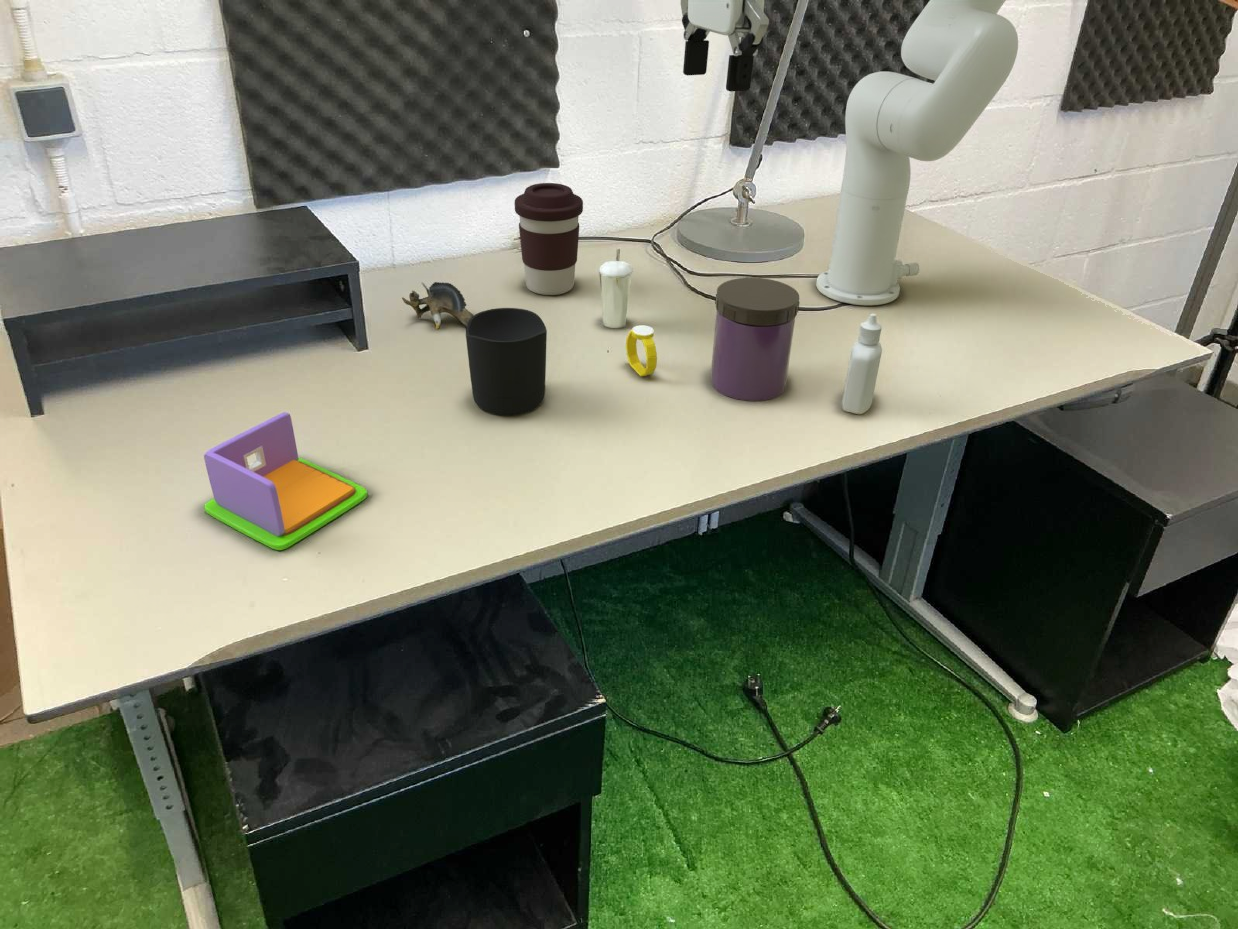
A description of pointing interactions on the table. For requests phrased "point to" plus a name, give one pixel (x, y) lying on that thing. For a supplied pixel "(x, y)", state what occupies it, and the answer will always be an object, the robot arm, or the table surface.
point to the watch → (646, 336)
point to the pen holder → (507, 360)
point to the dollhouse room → (274, 486)
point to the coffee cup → (549, 236)
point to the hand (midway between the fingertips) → (715, 82)
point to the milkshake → (615, 291)
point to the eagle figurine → (440, 302)
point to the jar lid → (757, 301)
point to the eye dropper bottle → (863, 368)
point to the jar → (750, 359)
